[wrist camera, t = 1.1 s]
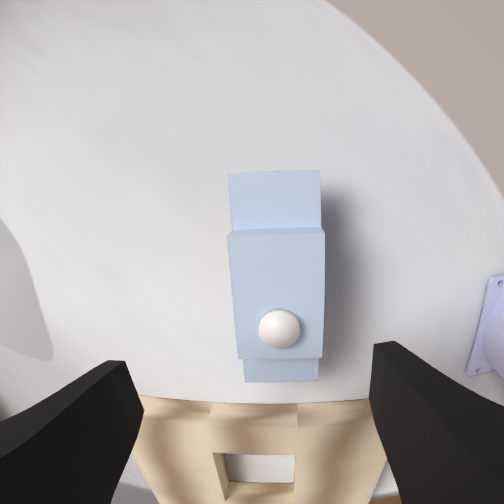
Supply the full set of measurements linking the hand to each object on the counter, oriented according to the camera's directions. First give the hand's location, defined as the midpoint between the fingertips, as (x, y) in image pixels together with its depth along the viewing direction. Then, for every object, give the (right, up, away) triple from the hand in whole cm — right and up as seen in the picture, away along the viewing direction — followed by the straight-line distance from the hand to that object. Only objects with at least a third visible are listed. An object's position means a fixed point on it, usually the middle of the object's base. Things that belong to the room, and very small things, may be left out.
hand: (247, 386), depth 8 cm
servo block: (+2, +3, +10) cm, 10 cm away
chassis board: (+1, -14, +14) cm, 20 cm away
